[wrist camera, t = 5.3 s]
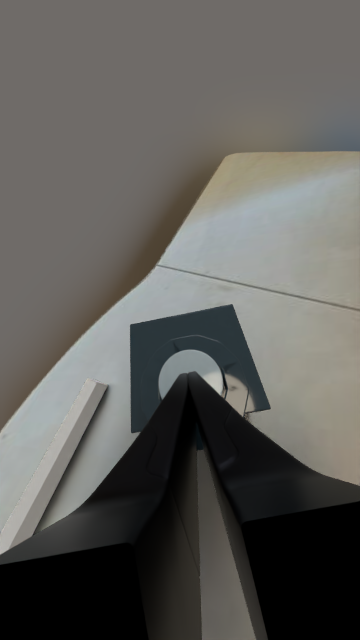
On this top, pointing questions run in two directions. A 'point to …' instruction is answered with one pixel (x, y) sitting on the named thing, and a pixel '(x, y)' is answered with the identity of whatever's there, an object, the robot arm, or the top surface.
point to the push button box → (202, 335)
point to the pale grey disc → (190, 370)
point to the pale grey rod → (51, 467)
